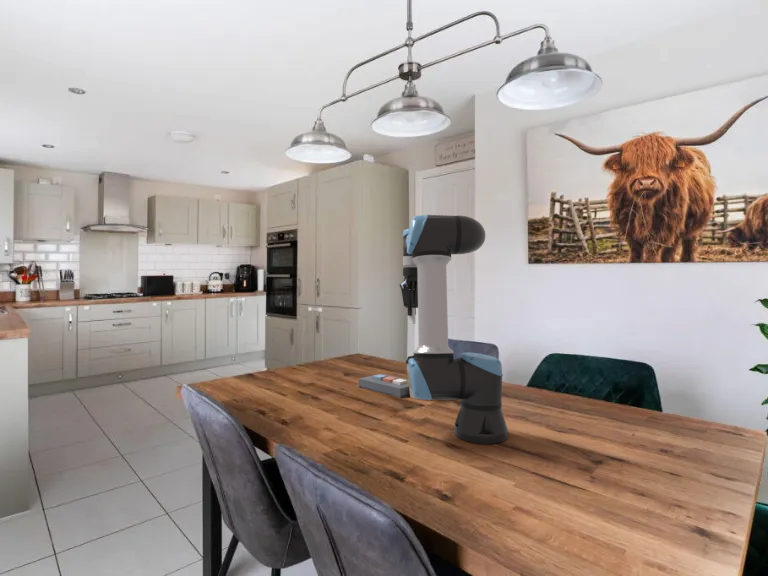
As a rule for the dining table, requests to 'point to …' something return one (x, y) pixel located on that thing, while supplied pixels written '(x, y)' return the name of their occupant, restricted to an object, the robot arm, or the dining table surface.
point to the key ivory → (399, 381)
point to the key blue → (379, 377)
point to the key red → (389, 379)
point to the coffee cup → (409, 378)
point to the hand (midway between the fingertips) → (411, 323)
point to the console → (385, 386)
